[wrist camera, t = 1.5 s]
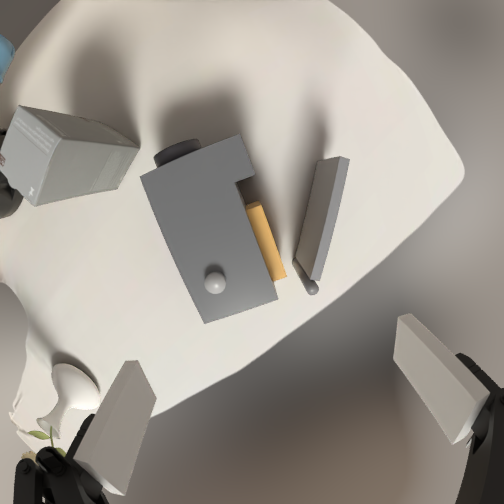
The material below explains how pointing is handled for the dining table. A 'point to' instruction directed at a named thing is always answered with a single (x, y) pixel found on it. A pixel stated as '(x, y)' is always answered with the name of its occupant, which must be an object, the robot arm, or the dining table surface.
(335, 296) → the dining table surface
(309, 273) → the door
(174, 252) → the housing
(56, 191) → the skincare box
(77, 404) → the flower in vase
